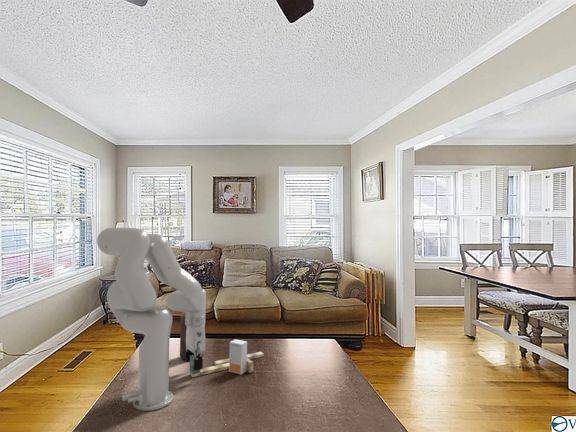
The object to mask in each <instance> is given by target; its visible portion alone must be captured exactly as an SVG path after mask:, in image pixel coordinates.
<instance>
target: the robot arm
mask: <svg viewBox="0 0 576 432" xmlns="http://www.w3.org/2000/svg"><path fill="white" fill-rule="evenodd" d="M96 245H97V247H98V248H99V250H100V251H101V252H102V253H103V254H106V255H110V256H116V257H119V259H118V261H117V264H116V266H115V270H114V278H115V281H114V282H112V284H110V285H109V288H108V289H107V293H106V301H107V305H108V307H109V309H110V310H111V312H112V313H113V315H114V317H115V319H116V320H117V322H118V323H119V325H120V326H121V327H122V329H124V330H125V331H127V332H130V333H135V334H139V335H144V336H143V340H142V341H141V343H140V344H139V347H138V383H137V384H138V385H137V387H136V388H135V391H133V392H132V393H126V394H123V395H122V402H126V401H127V403H128V404H130V403H132V406H133V408H135V409H136V410H138V411H148V412H149V411H155V410H160V409H163V408H165V407H167V406H169V405H170V404H171V403H172V402H173V400H174V394H173V392H172V391H170V389H169V387H170V386H169V385H170V384H169V383H170V339H171V338H170V337H171V330H172V325H173V320H174V318H173V313H172V312H171V310H172V311H175V312H182V313H183V312H186V319H185V325H186V326H187V330H186V347H187V348H186V359H185V362H186V363H190V355H195V359H194V370H201V369H202V368H204V366H203V365H204V363H203V361H204V352H205V351H206V330H205V325H206V311H207V310H206V308H207V306H206V305H207V292H206V289H204V288H202V286H201V284H200V282H199V281H198V280H197V279H196V278H195V277H194V276H192V274H190V273H189V272H188V271H186V269H184V268H182V267H181V266H180V263H179V262H178V260H177V258H176V255H175V253H174V252H173V249H172V247H171V245H170V244H169V240H168V239H167V238H166V237H165V236H163V235H162V234H155V233H148V232H147V231H146V230H144V229H142V228H136V227H107V228H105V229H102V231H100V233H99V234H98V236H97V239H96ZM145 260H147V262H148V264H149V265H150V268H151V269H152V271H153V273H154V275H155V277H156V279H157V280H158V281H160V282H161V283H163V284H165V285H167V286H169V287H172V288H174V289H175V290H174V291H173V292H171V293H170V294H169V295H168V296H167V299H166V305H167V307H164V306H161V305H156V304H157V299H158V295H157V293H156V290H155V288H154V287H153V284H152V283H151V281H150V278H149V276H148V274H147V272H146V270H145ZM168 308H169V309H168ZM196 350H197V351H196ZM197 354H198V355H197Z"/></svg>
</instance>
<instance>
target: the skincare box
mask: <svg viewBox="0 0 576 432" xmlns="http://www.w3.org/2000/svg"><path fill="white" fill-rule="evenodd" d="M228 353H229V354H228V355H229V369H228V372H230V373H234V374H237V375H240V376H241V375H243V374H244V373H246V372H248V371H247V354H248V341H246V340H241V339H236V338H235V339H233V340H231V341H229V352H228Z"/></svg>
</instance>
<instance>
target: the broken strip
mask: <svg viewBox="0 0 576 432" xmlns="http://www.w3.org/2000/svg"><path fill="white" fill-rule="evenodd" d="M264 355H265V354H264V353H263V352H262V351H258V352H257V351H256V352H252V353H247V358H249V359H250V360H253V359H258V358H263V357H264ZM225 363H229V358H225V359H219V360H215V361H214V366H216V365H221V364H225Z"/></svg>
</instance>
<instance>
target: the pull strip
mask: <svg viewBox="0 0 576 432" xmlns="http://www.w3.org/2000/svg"><path fill="white" fill-rule="evenodd" d="M198 354H199V353H197V355H198ZM194 359H195V355H190V362H189V374H190V376H191V377H192V378H194V377H198V376H203V375H207V374H208V375H209V374H212V373H216V372H220V371H225V370H229V363H225V364H221V365H212V366H207V367H203V368H202V369H201V370H194ZM246 372H248V373H249V374H251V373H253V372H254V361H253V360H252V359H249V358H247V371H246Z"/></svg>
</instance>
